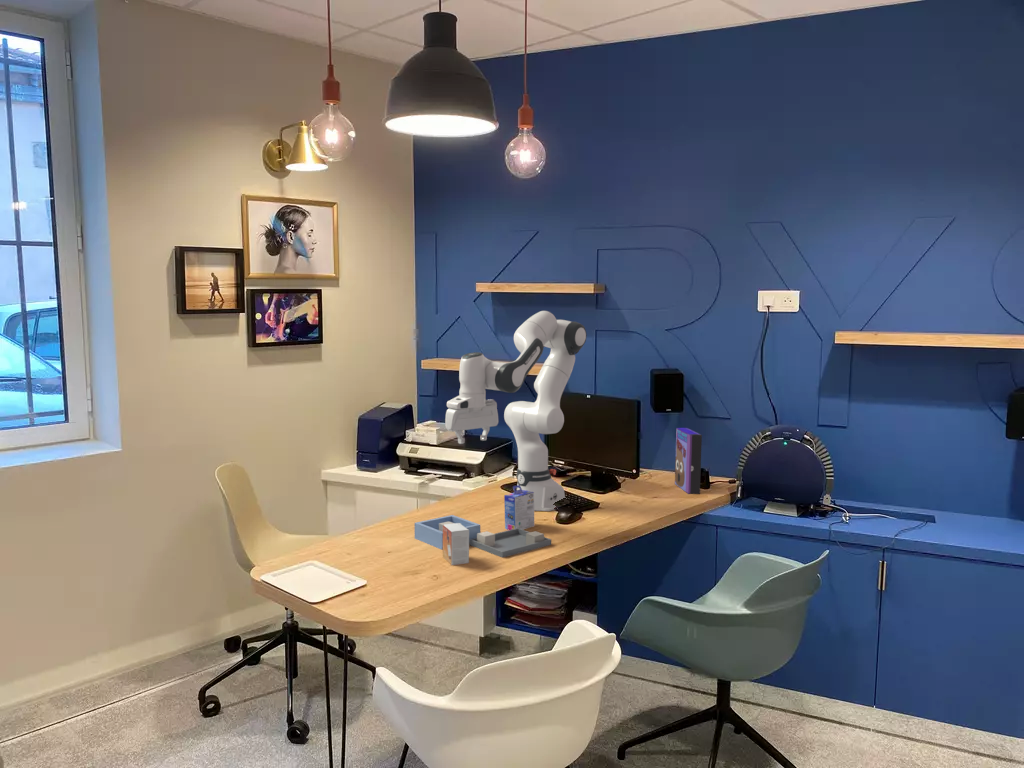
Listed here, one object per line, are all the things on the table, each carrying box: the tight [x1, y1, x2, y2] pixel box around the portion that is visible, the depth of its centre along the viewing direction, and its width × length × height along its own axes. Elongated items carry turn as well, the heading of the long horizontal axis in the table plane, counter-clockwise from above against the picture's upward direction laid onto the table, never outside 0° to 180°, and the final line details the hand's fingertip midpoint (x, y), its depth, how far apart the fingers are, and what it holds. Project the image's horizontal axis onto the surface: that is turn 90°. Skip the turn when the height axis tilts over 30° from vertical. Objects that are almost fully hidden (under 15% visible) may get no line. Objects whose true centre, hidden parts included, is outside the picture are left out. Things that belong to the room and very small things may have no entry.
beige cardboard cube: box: [439, 521, 455, 532], centre depth 258 cm, size 4×4×5 cm
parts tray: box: [469, 528, 552, 559], centre depth 253 cm, size 20×16×2 cm
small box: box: [442, 523, 470, 567], centre depth 238 cm, size 8×6×10 cm
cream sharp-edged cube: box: [477, 531, 495, 546], centre depth 253 cm, size 4×4×4 cm
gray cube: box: [526, 530, 545, 545], centre depth 253 cm, size 4×4×4 cm
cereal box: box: [674, 427, 703, 495], centre depth 330 cm, size 17×5×24 cm, turn 6°
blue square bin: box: [414, 514, 481, 551], centre depth 258 cm, size 15×15×6 cm
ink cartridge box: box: [503, 485, 535, 531], centre depth 272 cm, size 10×6×14 cm, turn 137°
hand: (472, 441), depth 273 cm, fingers open, 8 cm apart
